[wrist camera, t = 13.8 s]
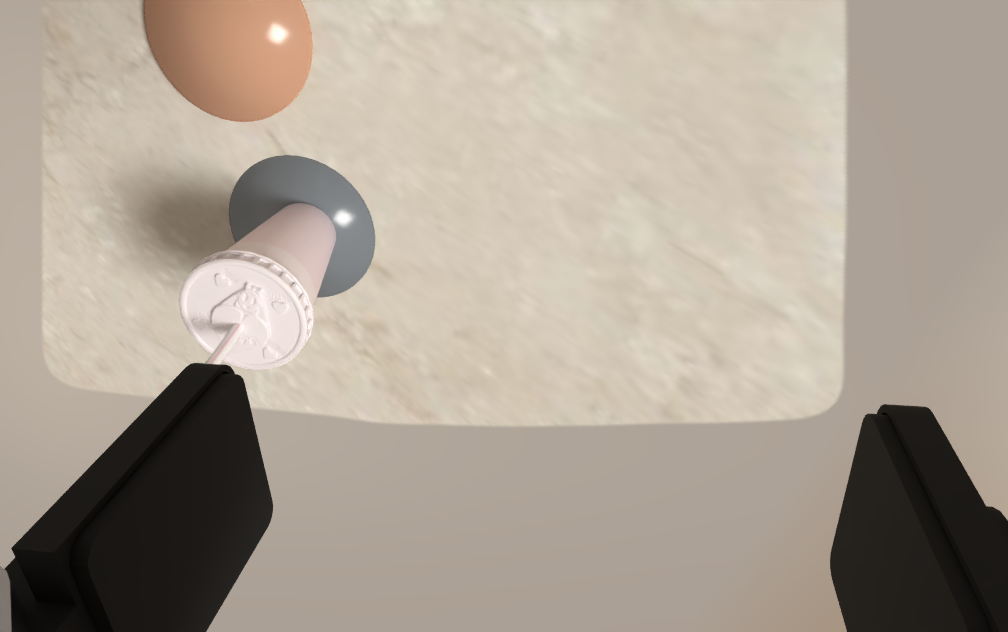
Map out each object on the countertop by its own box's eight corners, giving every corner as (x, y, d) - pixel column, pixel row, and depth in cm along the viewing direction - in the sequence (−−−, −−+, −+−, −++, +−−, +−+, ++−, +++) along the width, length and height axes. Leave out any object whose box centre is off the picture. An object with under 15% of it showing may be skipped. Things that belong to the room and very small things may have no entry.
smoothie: (239, 251, 46) (118, 391, 34) (269, 161, 42) (147, 282, 30) (337, 295, 47) (254, 447, 35) (374, 211, 43) (296, 347, 32)
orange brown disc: (134, -60, 39) (125, -60, 38) (301, -63, 37) (294, -63, 37) (174, 116, 43) (167, 120, 42) (325, 119, 42) (320, 123, 41)
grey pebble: (234, 272, 48) (228, 278, 47) (236, 135, 43) (229, 139, 43) (371, 306, 47) (367, 312, 47) (386, 171, 43) (382, 176, 42)
